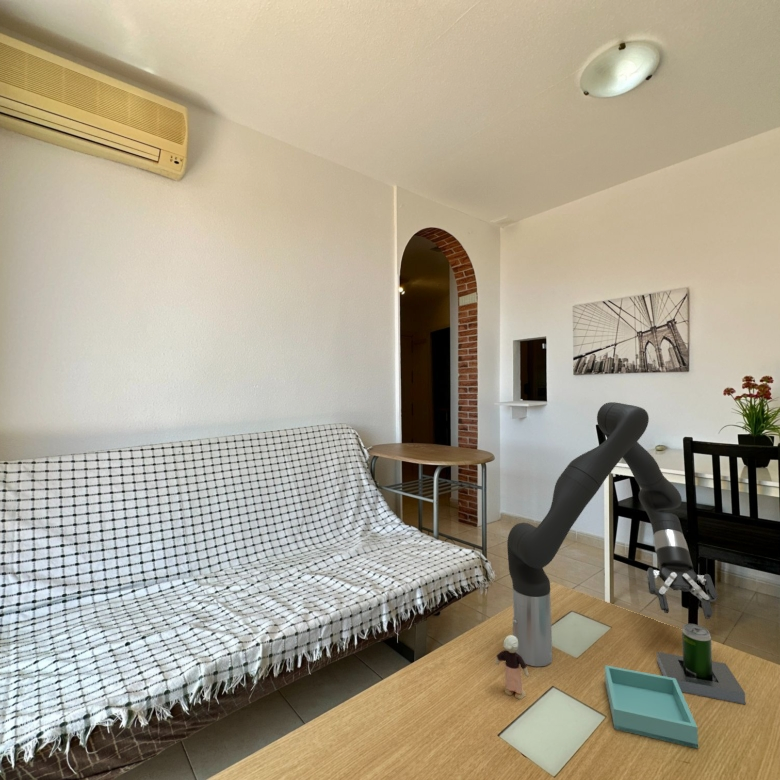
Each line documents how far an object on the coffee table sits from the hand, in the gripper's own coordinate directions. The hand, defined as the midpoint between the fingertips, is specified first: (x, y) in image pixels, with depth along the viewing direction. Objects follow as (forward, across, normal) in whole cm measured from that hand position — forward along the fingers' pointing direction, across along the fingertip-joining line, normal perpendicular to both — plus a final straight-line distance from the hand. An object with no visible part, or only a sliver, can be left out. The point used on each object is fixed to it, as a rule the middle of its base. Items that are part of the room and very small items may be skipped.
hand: (687, 615), depth 101 cm
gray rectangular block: (+13, 0, +4) cm, 14 cm away
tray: (+23, -13, -6) cm, 27 cm away
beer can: (+13, 0, +4) cm, 14 cm away
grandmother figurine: (+25, -40, -8) cm, 48 cm away
